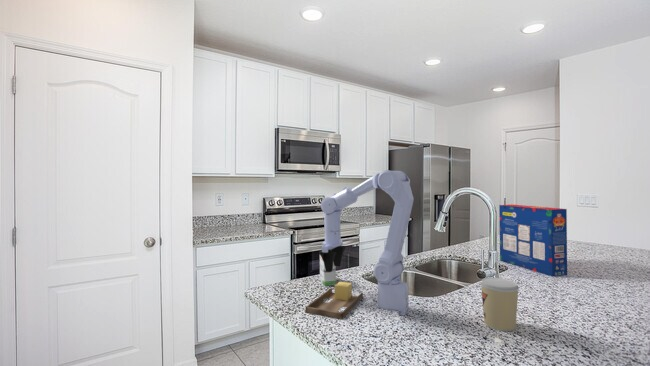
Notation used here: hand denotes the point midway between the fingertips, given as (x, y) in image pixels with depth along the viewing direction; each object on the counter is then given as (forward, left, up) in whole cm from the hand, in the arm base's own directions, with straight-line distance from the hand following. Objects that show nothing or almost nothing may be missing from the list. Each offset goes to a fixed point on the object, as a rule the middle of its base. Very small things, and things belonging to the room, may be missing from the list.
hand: (333, 268), depth 115 cm
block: (-5, +4, -8) cm, 11 cm away
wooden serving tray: (-5, +10, -10) cm, 15 cm away
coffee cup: (-52, +3, -10) cm, 53 cm away
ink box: (+7, -10, -10) cm, 15 cm away
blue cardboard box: (-69, -69, -10) cm, 98 cm away
